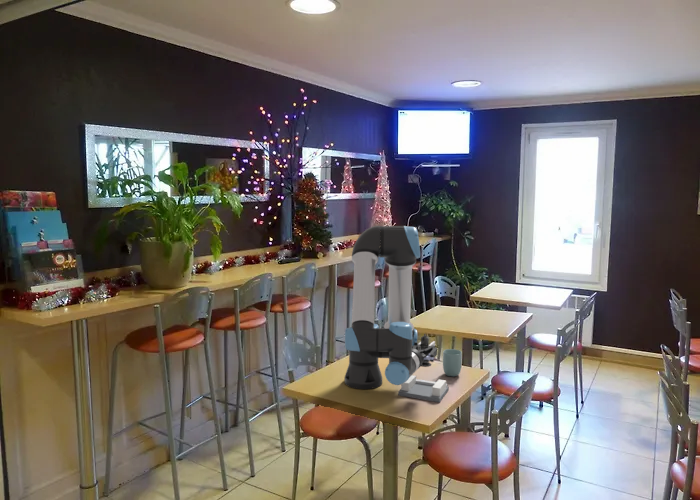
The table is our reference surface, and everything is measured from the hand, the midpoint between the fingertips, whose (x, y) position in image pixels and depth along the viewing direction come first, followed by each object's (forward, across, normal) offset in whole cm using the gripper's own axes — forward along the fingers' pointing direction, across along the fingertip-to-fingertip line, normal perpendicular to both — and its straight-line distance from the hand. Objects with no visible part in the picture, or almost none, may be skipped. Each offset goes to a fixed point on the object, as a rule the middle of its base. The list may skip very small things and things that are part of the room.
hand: (428, 344), depth 204 cm
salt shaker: (-5, 0, -7) cm, 9 cm away
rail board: (-5, 0, -18) cm, 18 cm away
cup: (+19, +5, -18) cm, 26 cm away
